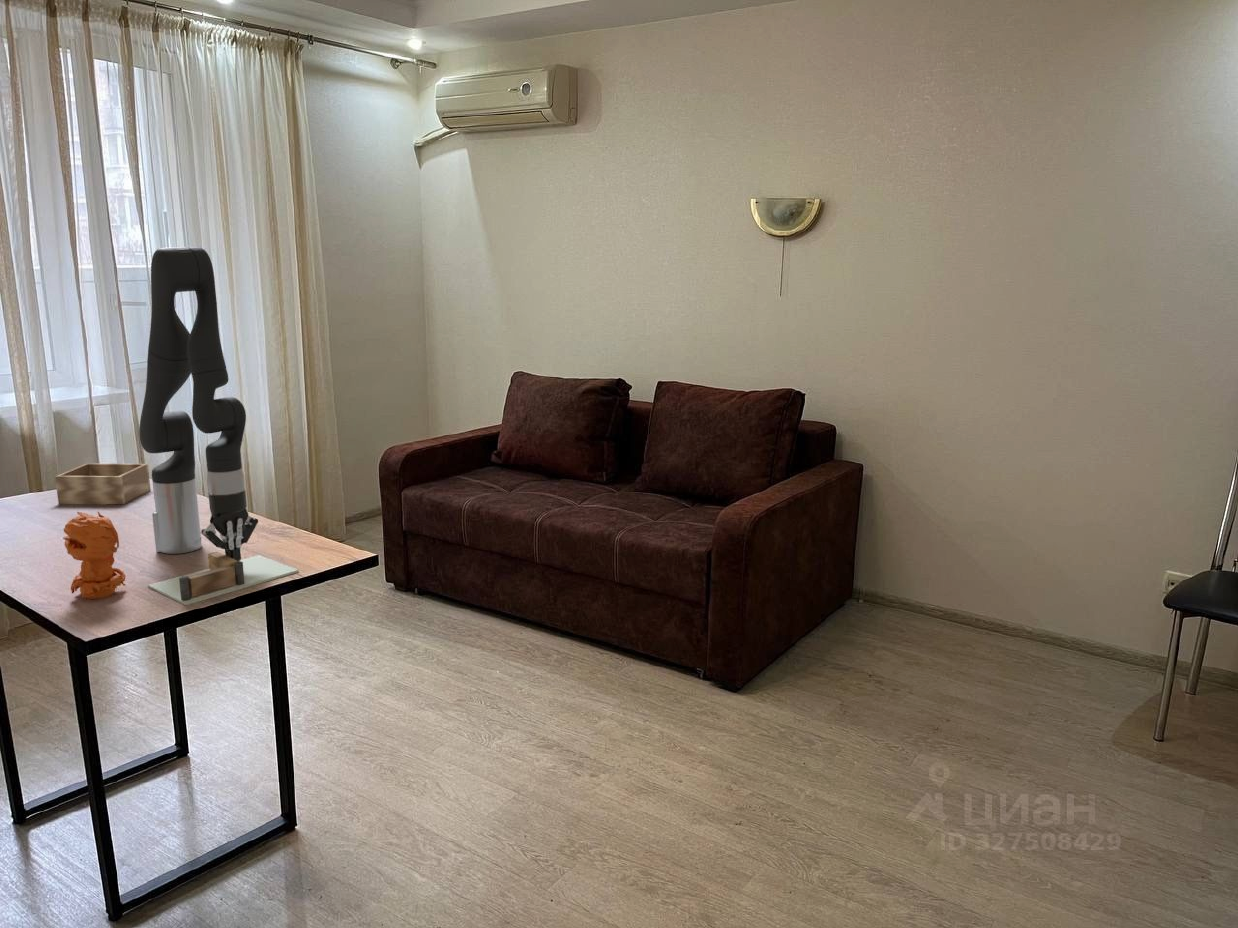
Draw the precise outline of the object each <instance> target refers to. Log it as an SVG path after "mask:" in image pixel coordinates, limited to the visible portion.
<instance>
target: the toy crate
mask: <svg viewBox="0 0 1238 928" xmlns="http://www.w3.org/2000/svg"><path fill="white" fill-rule="evenodd" d="M54 479H55V487H56V494H57V502H58V505H106V504H124V505H126V504H127V503H129V502H131V501H133V500H134V499H137V498H138V496H139V497H140V496H142V495H144V494H146V493H148V492H150V491H152V490H151V481H150V472H149V464H148V463H90V462H89V463H84V464H81V465H80V466H77V467H74V468H71V469H69V470H68V471H64V472H63V473H61V474H58V475H55V476H54ZM126 502H127V503H126Z"/></svg>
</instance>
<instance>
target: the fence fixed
mask: <svg viewBox="0 0 1238 928" xmlns="http://www.w3.org/2000/svg"><path fill="white" fill-rule="evenodd" d="M181 576H182V577H180V576H179V577H180V578H179V582H180V592H181V600H182V601H187V600H190V599H191V597H195V596H199V595H202V594H206V593H209V592H213V591H216V590H219V589H223V588H226V587H230V586H233V585H242V584H244V571H243V562H241V561H239V562H235V563H234V567H233V566H231V565H227V566H224V567H220V568H216V569H213V570H209V571H205V572H202V573H198V574H194V575H191V576H183V575H181Z"/></svg>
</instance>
